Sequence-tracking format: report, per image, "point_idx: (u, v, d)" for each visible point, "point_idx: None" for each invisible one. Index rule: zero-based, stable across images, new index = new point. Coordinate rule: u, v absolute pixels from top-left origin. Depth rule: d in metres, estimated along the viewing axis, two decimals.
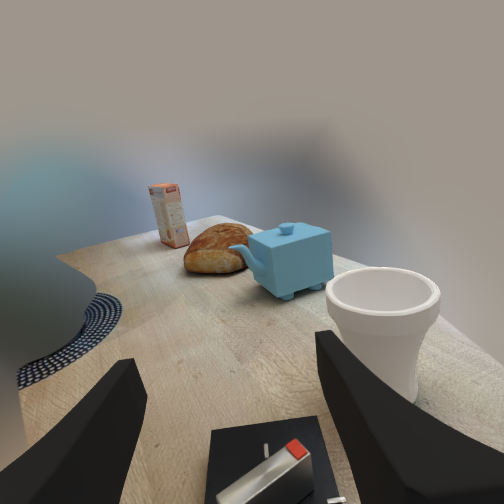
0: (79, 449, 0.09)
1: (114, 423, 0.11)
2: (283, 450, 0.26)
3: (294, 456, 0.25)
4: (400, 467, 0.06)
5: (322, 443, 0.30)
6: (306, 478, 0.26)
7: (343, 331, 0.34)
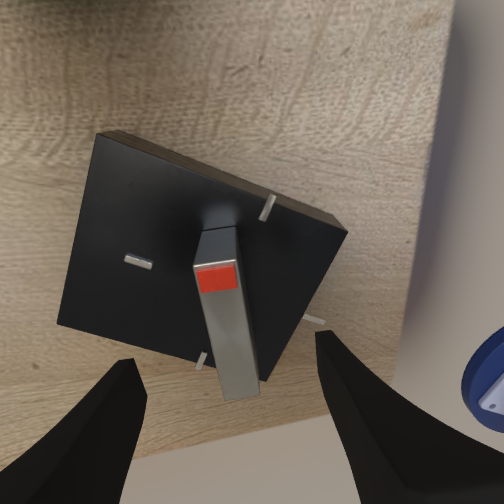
0: (79, 449, 0.09)
1: (114, 423, 0.11)
2: (205, 297, 0.14)
3: None
4: (400, 467, 0.06)
5: (167, 165, 0.15)
6: (238, 253, 0.15)
7: None
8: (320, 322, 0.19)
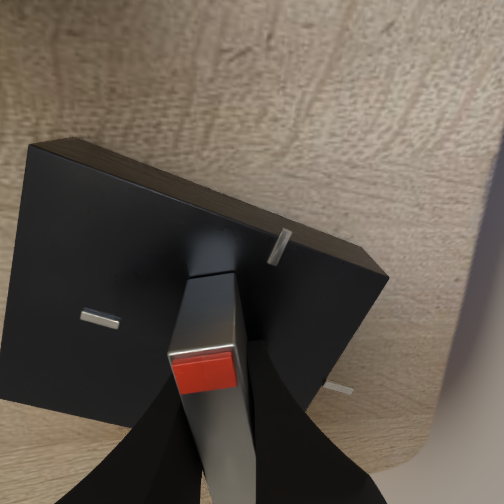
0: (175, 436, 0.09)
1: None
2: (188, 396, 0.09)
3: None
4: (262, 486, 0.06)
5: (135, 189, 0.11)
6: (239, 317, 0.10)
7: None
8: (347, 391, 0.15)
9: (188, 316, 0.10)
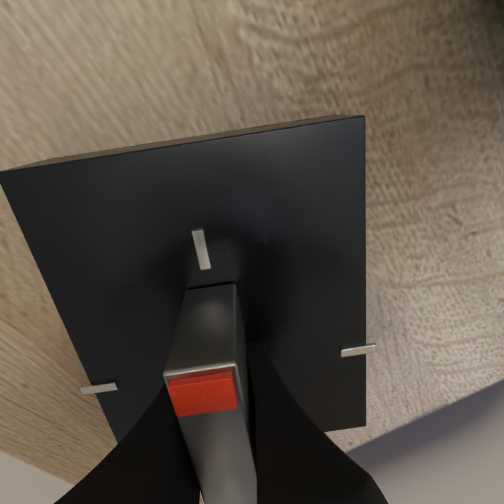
0: (174, 436, 0.09)
1: None
2: (186, 418, 0.08)
3: None
4: (263, 486, 0.06)
5: (359, 223, 0.11)
6: (239, 331, 0.10)
7: None
8: None
9: (186, 331, 0.09)
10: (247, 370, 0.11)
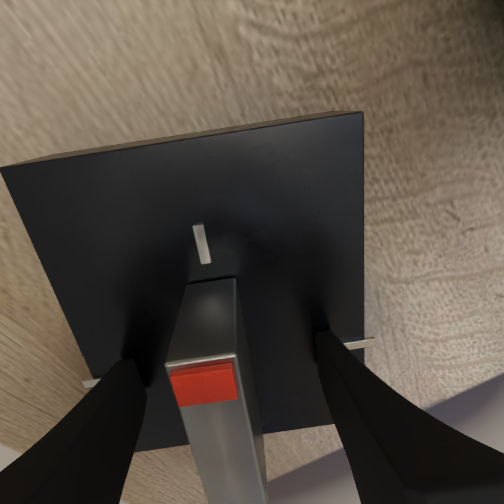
0: (79, 449, 0.09)
1: (114, 423, 0.11)
2: (187, 408, 0.08)
3: None
4: (400, 467, 0.06)
5: (358, 218, 0.11)
6: (240, 324, 0.10)
7: None
8: None
9: (187, 324, 0.09)
10: (247, 363, 0.11)
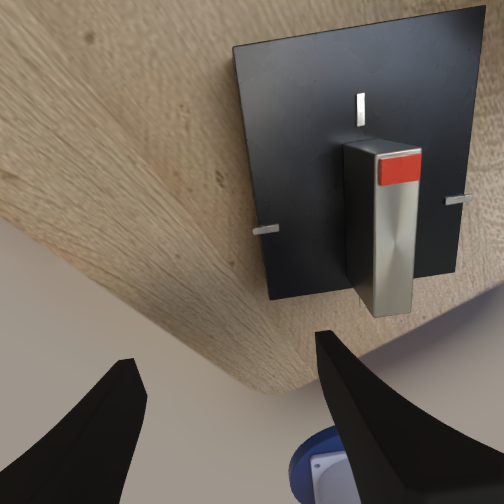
0: (79, 449, 0.09)
1: (114, 423, 0.11)
2: (381, 192, 0.13)
3: (408, 181, 0.13)
4: (400, 467, 0.06)
5: (472, 90, 0.15)
6: None
7: None
8: (360, 304, 0.20)
9: (370, 148, 0.14)
10: None
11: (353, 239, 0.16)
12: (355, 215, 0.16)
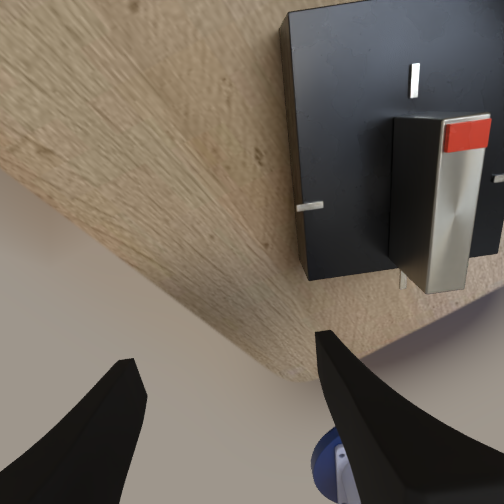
0: (79, 449, 0.09)
1: (114, 423, 0.11)
2: (445, 160, 0.12)
3: (475, 148, 0.12)
4: (400, 467, 0.06)
5: None
6: None
7: None
8: (399, 286, 0.19)
9: (430, 116, 0.13)
10: None
11: (401, 215, 0.16)
12: (406, 190, 0.15)
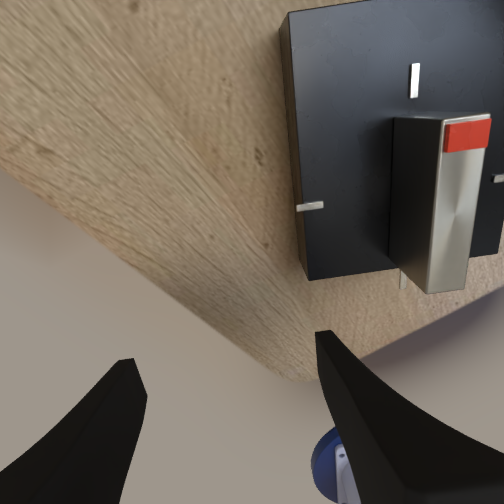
0: (79, 449, 0.09)
1: (114, 423, 0.11)
2: (445, 160, 0.12)
3: (475, 148, 0.12)
4: (400, 467, 0.06)
5: None
6: None
7: None
8: (399, 286, 0.19)
9: (430, 116, 0.13)
10: None
11: (401, 215, 0.16)
12: (406, 190, 0.15)
